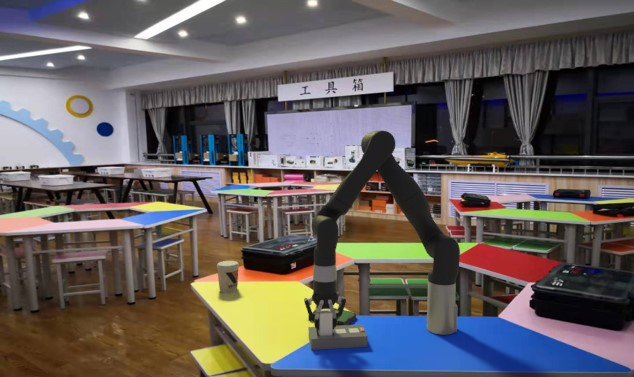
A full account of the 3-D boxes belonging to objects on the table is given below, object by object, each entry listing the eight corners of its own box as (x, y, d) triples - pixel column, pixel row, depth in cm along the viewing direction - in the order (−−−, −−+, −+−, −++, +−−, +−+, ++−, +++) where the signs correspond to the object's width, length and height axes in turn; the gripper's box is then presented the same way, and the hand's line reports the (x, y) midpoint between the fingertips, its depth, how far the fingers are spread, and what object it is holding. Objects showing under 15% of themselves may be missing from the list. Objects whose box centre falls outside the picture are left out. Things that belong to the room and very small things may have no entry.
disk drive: (308, 321, 161) (344, 329, 154) (307, 314, 161) (344, 321, 154) (321, 312, 170) (356, 318, 163) (321, 305, 170) (356, 311, 163)
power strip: (361, 334, 149) (361, 323, 149) (367, 346, 140) (367, 334, 140) (308, 337, 147) (308, 325, 147) (311, 349, 138) (311, 337, 138)
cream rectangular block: (330, 332, 145) (330, 308, 144) (332, 337, 141) (332, 313, 140) (318, 332, 145) (318, 309, 144) (319, 338, 141) (320, 313, 140)
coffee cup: (229, 294, 188) (228, 267, 187) (213, 290, 193) (212, 264, 192) (243, 288, 196) (242, 262, 195) (227, 284, 201) (227, 259, 200)
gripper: (344, 273, 145) (344, 322, 147) (301, 274, 144) (302, 325, 146) (349, 280, 138) (348, 332, 140) (303, 282, 136) (304, 335, 138)
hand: (325, 328), depth 143 cm, fingers open, 4 cm apart
